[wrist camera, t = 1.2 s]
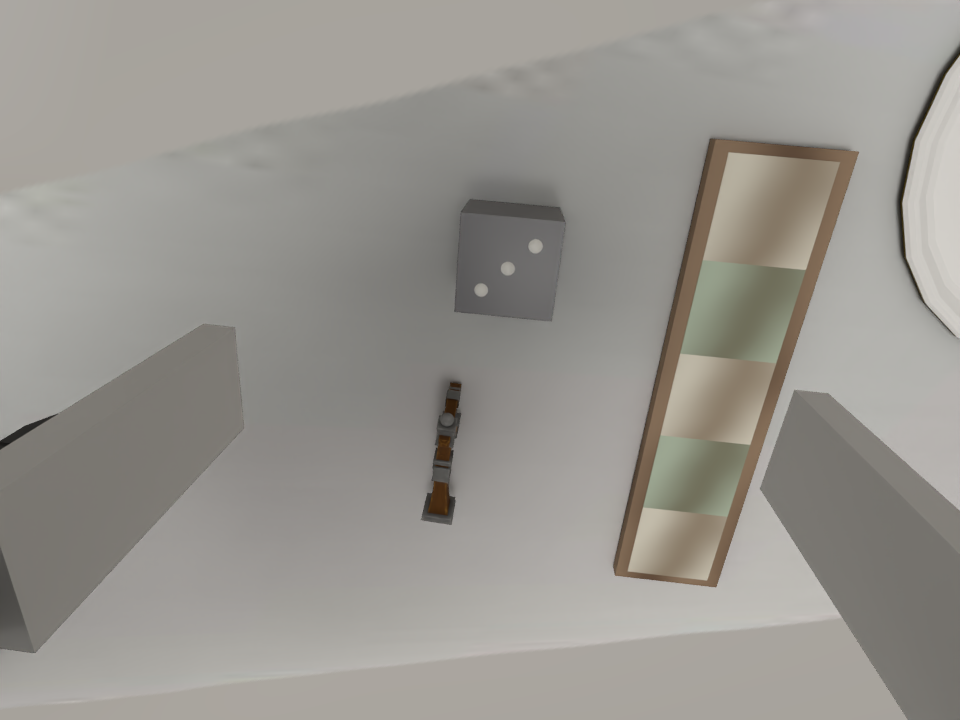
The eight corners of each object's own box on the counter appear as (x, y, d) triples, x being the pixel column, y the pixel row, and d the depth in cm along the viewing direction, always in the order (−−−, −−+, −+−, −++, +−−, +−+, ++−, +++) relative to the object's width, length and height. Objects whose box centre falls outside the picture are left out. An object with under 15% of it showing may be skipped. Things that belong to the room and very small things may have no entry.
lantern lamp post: (450, 527, 32) (462, 428, 28) (420, 522, 32) (427, 423, 28) (461, 469, 36) (473, 373, 31) (433, 465, 36) (441, 368, 31)
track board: (613, 566, 36) (615, 576, 36) (710, 138, 26) (716, 139, 25) (712, 577, 36) (716, 587, 35) (849, 150, 26) (859, 151, 25)
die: (463, 285, 30) (454, 312, 26) (470, 199, 28) (460, 212, 24) (551, 294, 30) (556, 322, 25) (563, 207, 28) (570, 223, 24)
